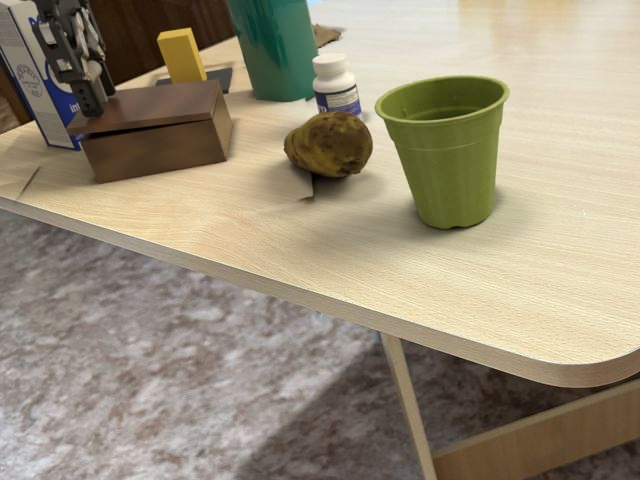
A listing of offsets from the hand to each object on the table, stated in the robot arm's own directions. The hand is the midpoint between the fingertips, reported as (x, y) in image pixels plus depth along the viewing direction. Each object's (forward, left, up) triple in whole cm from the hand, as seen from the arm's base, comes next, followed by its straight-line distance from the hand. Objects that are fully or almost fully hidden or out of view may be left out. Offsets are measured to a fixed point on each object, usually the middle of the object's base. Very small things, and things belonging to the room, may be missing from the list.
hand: (101, 104), depth 80 cm
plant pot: (+36, -28, -8) cm, 46 cm away
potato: (+25, -15, -8) cm, 30 cm away
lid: (+5, 0, -1) cm, 5 cm away
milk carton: (-7, +11, -8) cm, 15 cm away
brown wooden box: (+5, 0, -8) cm, 9 cm away
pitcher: (+20, +17, -8) cm, 27 cm away
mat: (+5, +29, -8) cm, 30 cm away
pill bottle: (+27, -1, -8) cm, 28 cm away
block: (+5, +29, -7) cm, 30 cm away
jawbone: (+20, +43, -8) cm, 48 cm away
